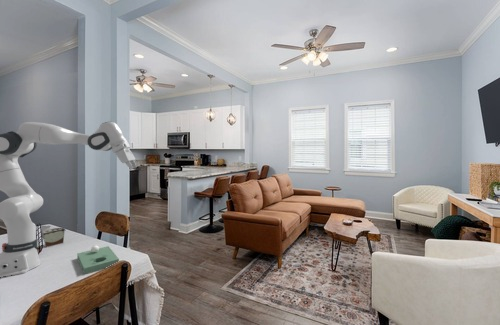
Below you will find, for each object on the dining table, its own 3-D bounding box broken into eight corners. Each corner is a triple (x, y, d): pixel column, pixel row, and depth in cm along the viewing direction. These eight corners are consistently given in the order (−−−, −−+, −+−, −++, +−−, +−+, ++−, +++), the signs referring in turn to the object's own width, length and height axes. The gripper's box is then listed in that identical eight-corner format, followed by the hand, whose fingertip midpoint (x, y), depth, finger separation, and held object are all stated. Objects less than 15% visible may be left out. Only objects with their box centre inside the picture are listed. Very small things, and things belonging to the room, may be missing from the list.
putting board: (84, 274, 121) (84, 268, 121) (77, 258, 138) (77, 253, 138) (118, 264, 132) (118, 259, 132) (108, 250, 149) (108, 246, 149)
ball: (91, 254, 137) (91, 247, 137) (90, 252, 140) (90, 245, 140) (99, 252, 140) (99, 245, 140) (98, 250, 143) (98, 243, 143)
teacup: (47, 240, 166) (47, 229, 165) (24, 243, 161) (24, 231, 160) (54, 233, 179) (54, 223, 179) (33, 236, 174) (33, 225, 174)
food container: (62, 240, 166) (62, 226, 166) (65, 242, 163) (65, 228, 162) (40, 246, 156) (39, 231, 156) (42, 248, 153) (42, 233, 152)
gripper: (121, 150, 147) (132, 169, 149) (110, 149, 127) (124, 172, 129) (130, 145, 148) (142, 165, 150) (122, 144, 129) (135, 166, 131)
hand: (133, 168), depth 140 cm, fingers open, 8 cm apart
